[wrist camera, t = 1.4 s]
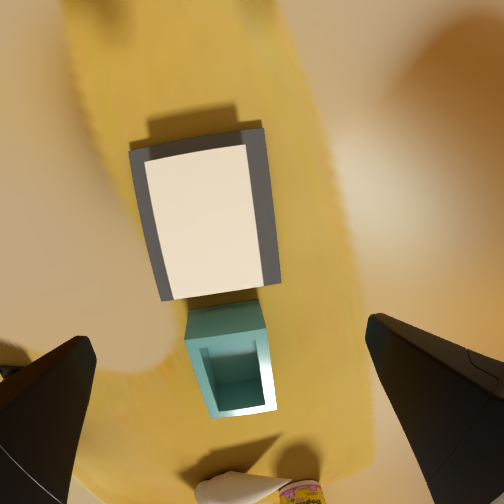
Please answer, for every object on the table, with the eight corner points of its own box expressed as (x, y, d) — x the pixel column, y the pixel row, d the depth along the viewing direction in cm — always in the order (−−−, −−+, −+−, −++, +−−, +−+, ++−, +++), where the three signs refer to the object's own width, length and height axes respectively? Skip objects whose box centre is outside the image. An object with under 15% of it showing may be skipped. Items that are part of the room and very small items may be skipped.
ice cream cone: (292, 451, 30) (204, 472, 34) (271, 466, 25) (177, 483, 29) (310, 489, 27) (219, 504, 31) (292, 509, 22) (193, 519, 26)
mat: (162, 298, 22) (161, 301, 21) (130, 151, 18) (128, 151, 17) (280, 280, 22) (281, 283, 22) (262, 128, 18) (263, 127, 18)
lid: (177, 286, 21) (173, 299, 19) (151, 161, 18) (144, 162, 16) (259, 274, 21) (263, 285, 19) (242, 145, 18) (245, 144, 16)
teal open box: (210, 386, 25) (211, 418, 21) (188, 310, 22) (184, 340, 18) (269, 377, 25) (276, 409, 22) (258, 299, 22) (266, 328, 19)
